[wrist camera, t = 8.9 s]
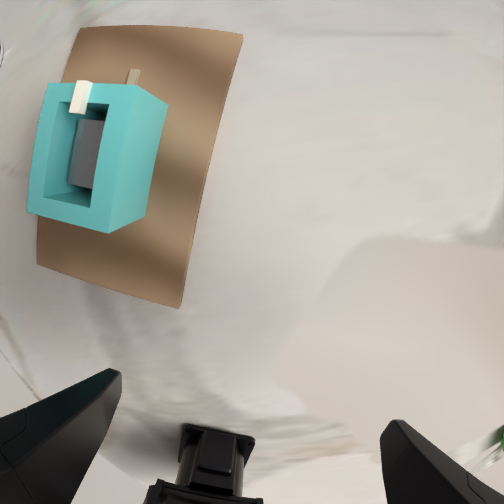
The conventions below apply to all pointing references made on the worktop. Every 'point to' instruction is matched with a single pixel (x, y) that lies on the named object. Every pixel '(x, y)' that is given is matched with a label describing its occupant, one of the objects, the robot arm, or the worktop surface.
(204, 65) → the base plate
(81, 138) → the grey rectangular block
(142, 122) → the teal hollow block
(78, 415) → the robot arm
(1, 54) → the supplement bottle
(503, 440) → the fruit basket
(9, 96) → the worktop surface
